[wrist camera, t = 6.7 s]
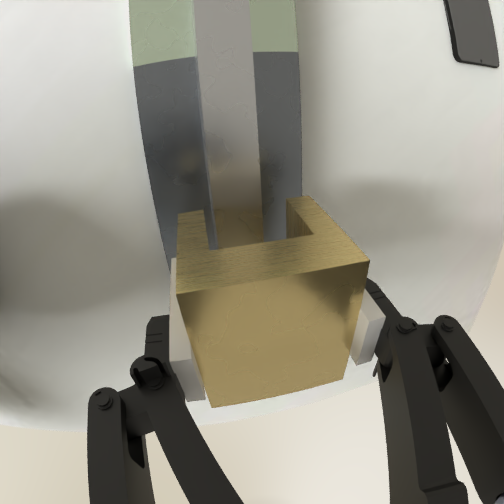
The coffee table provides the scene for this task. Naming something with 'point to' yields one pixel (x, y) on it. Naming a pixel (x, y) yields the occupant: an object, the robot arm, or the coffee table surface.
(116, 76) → the coffee table surface
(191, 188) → the rail
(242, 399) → the clip
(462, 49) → the smartphone
